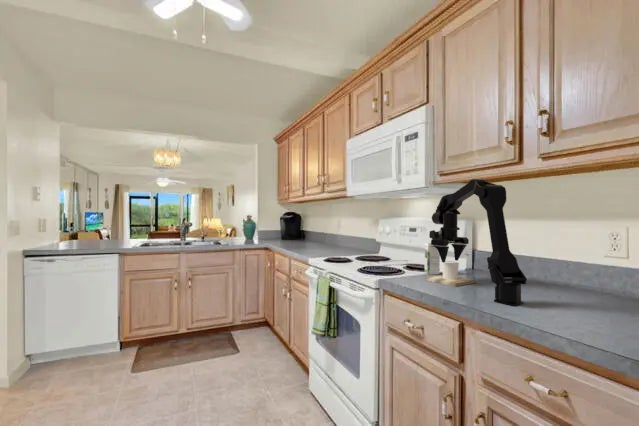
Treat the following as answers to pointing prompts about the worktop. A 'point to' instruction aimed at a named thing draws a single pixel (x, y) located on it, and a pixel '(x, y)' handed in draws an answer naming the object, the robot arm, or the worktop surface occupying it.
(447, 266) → the white short cylinder
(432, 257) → the syrup box
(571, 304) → the worktop surface
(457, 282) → the birch board
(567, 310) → the worktop surface
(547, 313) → the worktop surface
